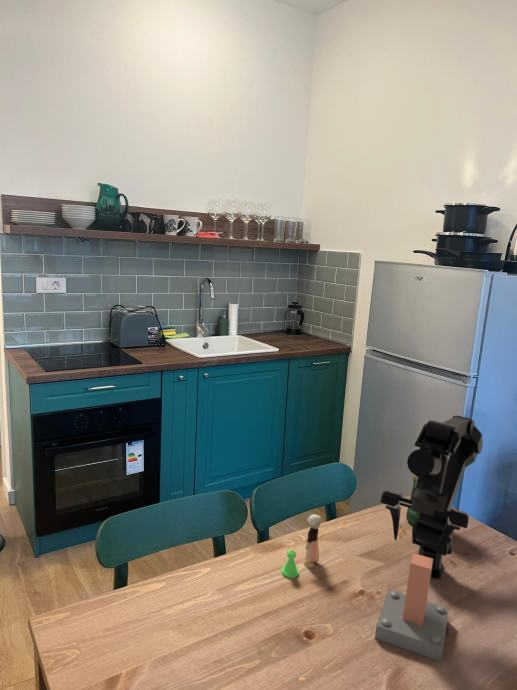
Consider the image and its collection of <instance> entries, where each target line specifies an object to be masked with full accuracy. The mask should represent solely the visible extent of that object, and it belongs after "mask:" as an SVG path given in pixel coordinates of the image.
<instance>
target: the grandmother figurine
mask: <svg viewBox="0 0 517 690" xmlns="http://www.w3.org/2000/svg"><path fill="white" fill-rule="evenodd" d="M306 520H307V522H308V524H309V527H310V528H309V530H308V533H307V539H306V545H305V550H306V553H305V559H304V562H303V564H304V566H306V567H308V568H310V569H312V568H313V569H314V567H315V563H317V562H319V560H320V548H319V539H318V538H319V537H318V536H319V528H320V526H321V521H322V517H321V516H320V515H318V514H310V516H309V517H308V518H307V519H306Z"/></svg>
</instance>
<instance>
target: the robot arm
mask: <svg viewBox="0 0 517 690" xmlns="http://www.w3.org/2000/svg"><path fill="white" fill-rule="evenodd" d="M483 441H484V440H483V434H482V432H481V431H480V430H479V429H478V428H477V427H476V425H475V420H473V419H472V418H469V417H466V416H461V415H453V416H452V418H450V419H447V420H445V421H443V422H442V421H438V420H432V419H430V420H428V421H427V422H426V423H425V424H424V425H423V426H422V429H421V431H420V433H419V435H418V437H417V439H416V441H415V443H414V447H416V448H418V449H415V450H413V451H412V452H411V453H410V454H409V455H408V457H407V460H406V464H407V468H408V470H409V471H410V473H411V474H412V475H413V474H414V475H416V476H417V480H416V485H415V489H414V490H413V494H412V498H411V497H410V498H411V500H410V498H405V497H403V494H402V493H400V492H396V491H393V490H390V489H387V490H385V491H383V492H382V493H381V497H380V502H379V503H382V504H383V505H385V509H388V510H389V513H390V516H391V520H392V527H393V528H392V529H393V539H394V541H397V539H398V536H399V528H400V518H401V510H402V507H401V506H403V507H405V508H407V509H408V508H411V509H412V510H414V511H420V512H421V513H420V516H419V518H418V520H416V521H415V523H414V525H412V529H411V530H412V531H411V537H412V538H411V543H412V544H414V545H417V546H419V547H418V551H417V552H418V555H422V556H425V557H429V558H432V559H433V564H432V571H431V577H433V578H437V579H441V578H442V575H443V574H442V572H443V567H444V564H443V562H442V561H443V557H447V555H452V552H453V546H454V545H453V542H454V539H453V537H452V533H453V532H454V531H455V530H456V531H460V530H461V528H463V529H467V528H468V524H469V520H470V519H469V518H470V517H469V516H470V515H469V514H468V513H467V512H466V511H463V510H460V509H459V510H458V509H456V508H454V507H453V503H454V500H455V498H456V495H457V492H458V489H459V486H460V485H461V481H462V479H463V475H464V472H465V471H466V468H468V467H469V466H471V465H472V464H473V463H475V462H476V459H477V457H478V455H480V454H481V453H482V449H483ZM452 507H453V508H452Z"/></svg>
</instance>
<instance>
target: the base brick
mask: <svg viewBox="0 0 517 690" xmlns="http://www.w3.org/2000/svg"><path fill="white" fill-rule="evenodd" d="M405 599H406V593H405V594H404V593H401V592H397V591H394V590H391V589H387V592H386V595H385V598H384V602H383V604H382V608H381V609H380V614H379V617H378V620H377V623H376V626H375V634H374V639H376V640H378V641H381V642H384V643H387V644H389V645H393V646H395V647H399V648H401V649H404V650H407V651H410V652H412V653H415V654H418V655H421V656H423V657H426V658H429V659H432V660H435V661H438V662H442V659H443V652H444V647H445V639H446V633H447V625H448V618H449V611H450V608H448V607H446V606H442V605H440V604H439V605H438V604H436V603H433V602H429V601H427V604H426V611H425V617H424V621H423V626H421V625H418V624H415V623H412V622H409V621H406V620H403V613H404V606H405Z"/></svg>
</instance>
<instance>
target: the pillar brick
mask: <svg viewBox="0 0 517 690" xmlns="http://www.w3.org/2000/svg"><path fill="white" fill-rule="evenodd" d="M432 564H433V559H432V558H429V557H425V556H422V555H418V554H417V553H414V552H413V553H412V557H411V561H410V565H409V572H408V577H407V578H408V579H407V587H406V592H405V595H406V599H405V606H404V613H403V620H406V621H409V622H412V623H415V624H418V625H421V626H423V621H424V617H425V611H426V604H427V602H428V596H429V589H430V584H431V577H432V576H431V571H432Z"/></svg>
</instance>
